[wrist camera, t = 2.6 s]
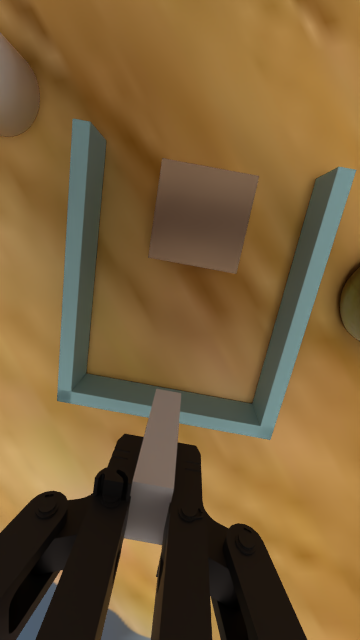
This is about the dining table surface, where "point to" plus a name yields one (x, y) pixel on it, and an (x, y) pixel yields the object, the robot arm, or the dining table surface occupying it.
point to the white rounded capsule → (16, 91)
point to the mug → (351, 305)
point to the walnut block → (201, 215)
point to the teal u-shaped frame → (140, 397)
